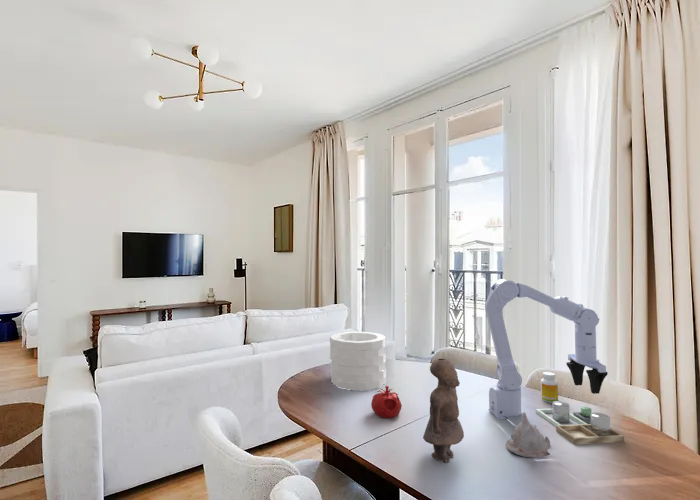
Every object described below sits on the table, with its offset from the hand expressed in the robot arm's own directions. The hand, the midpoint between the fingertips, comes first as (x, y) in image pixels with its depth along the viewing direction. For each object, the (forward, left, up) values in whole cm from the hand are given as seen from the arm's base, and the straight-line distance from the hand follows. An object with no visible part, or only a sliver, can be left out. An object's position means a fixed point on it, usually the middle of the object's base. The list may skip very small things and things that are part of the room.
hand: (586, 389), depth 120 cm
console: (-2, -3, -10) cm, 10 cm away
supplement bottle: (-2, +16, -10) cm, 19 cm away
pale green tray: (-10, -2, -10) cm, 14 cm away
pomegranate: (-62, +10, -10) cm, 64 cm away
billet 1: (-10, -2, -9) cm, 13 cm away
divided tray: (-9, -13, -10) cm, 18 cm away
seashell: (-28, -16, -10) cm, 34 cm away
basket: (-68, +46, -10) cm, 83 cm away
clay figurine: (-52, -18, -10) cm, 56 cm away
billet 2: (-5, -13, -9) cm, 16 cm away
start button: (-2, -3, -7) cm, 8 cm away
